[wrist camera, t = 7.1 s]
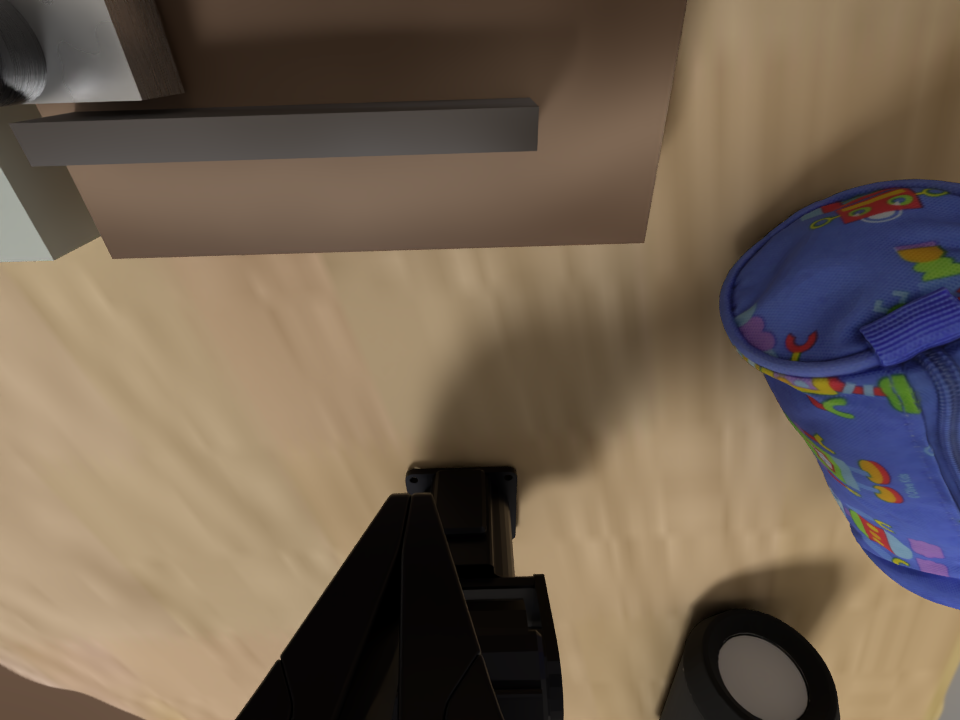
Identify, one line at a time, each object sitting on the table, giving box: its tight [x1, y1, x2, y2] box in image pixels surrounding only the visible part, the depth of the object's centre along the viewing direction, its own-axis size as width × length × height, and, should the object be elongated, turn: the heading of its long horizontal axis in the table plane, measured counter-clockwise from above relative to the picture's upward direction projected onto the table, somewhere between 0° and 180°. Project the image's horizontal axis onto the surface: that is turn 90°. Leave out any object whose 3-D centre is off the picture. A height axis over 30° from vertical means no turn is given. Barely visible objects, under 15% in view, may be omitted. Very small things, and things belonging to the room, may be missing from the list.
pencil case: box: [719, 179, 960, 610], centre depth 20 cm, size 22×9×10 cm, turn 41°
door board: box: [8, 0, 687, 259], centre depth 13 cm, size 12×18×6 cm, turn 92°
